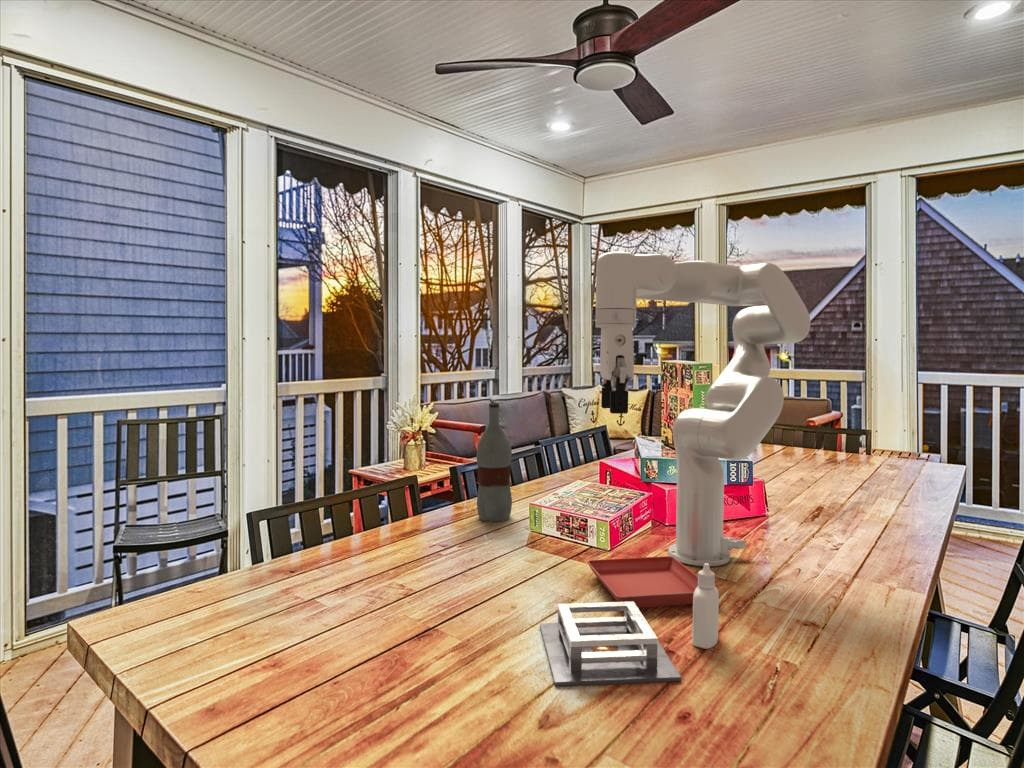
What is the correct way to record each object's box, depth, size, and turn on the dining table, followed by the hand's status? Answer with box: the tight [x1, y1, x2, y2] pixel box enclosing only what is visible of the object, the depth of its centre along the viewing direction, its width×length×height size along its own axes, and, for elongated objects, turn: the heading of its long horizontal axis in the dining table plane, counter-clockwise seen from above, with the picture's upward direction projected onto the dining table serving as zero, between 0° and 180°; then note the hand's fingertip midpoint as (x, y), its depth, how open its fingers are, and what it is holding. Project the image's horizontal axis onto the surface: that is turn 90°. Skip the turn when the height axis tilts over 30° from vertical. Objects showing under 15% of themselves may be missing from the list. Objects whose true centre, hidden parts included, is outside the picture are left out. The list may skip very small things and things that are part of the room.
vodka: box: [476, 402, 513, 522], centre depth 158 cm, size 9×9×30 cm
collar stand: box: [539, 601, 682, 687], centre depth 89 cm, size 17×17×5 cm
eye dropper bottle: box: [691, 563, 720, 650], centre depth 92 cm, size 4×6×12 cm
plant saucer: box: [586, 555, 698, 609], centre depth 112 cm, size 18×18×3 cm
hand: (614, 410), depth 115 cm, fingers open, 9 cm apart
